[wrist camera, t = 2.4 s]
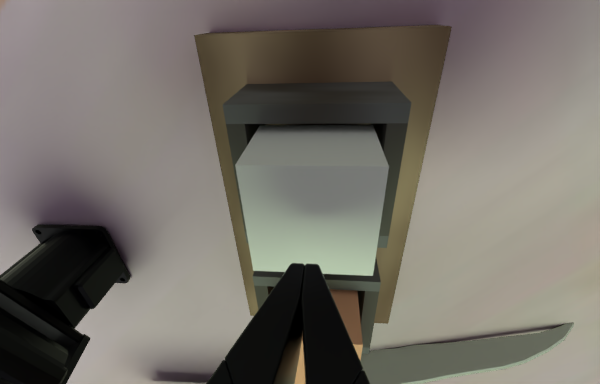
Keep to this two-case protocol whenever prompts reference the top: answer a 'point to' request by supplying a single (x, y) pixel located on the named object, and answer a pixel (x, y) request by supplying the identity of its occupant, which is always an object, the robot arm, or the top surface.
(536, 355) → the kitchen knife
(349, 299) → the terracotta button
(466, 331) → the top surface
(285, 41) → the button board
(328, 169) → the grey button
